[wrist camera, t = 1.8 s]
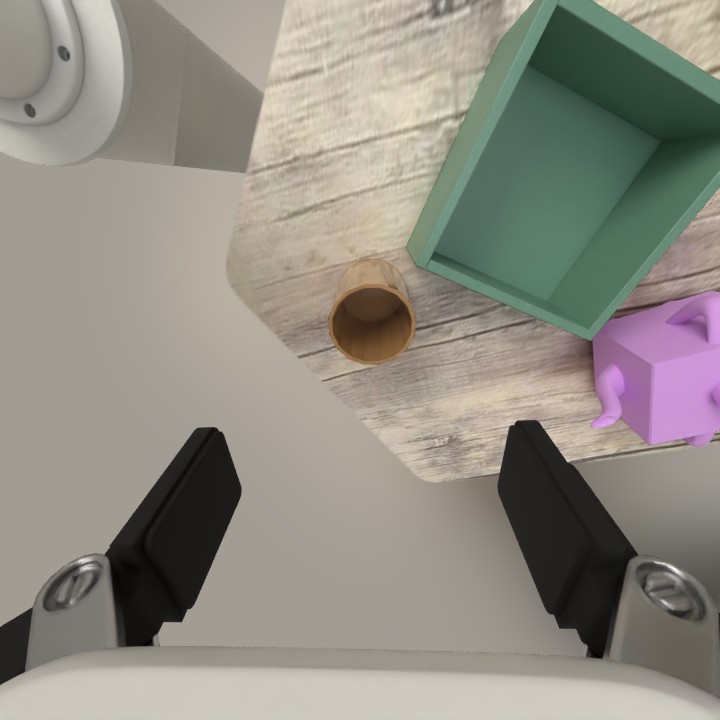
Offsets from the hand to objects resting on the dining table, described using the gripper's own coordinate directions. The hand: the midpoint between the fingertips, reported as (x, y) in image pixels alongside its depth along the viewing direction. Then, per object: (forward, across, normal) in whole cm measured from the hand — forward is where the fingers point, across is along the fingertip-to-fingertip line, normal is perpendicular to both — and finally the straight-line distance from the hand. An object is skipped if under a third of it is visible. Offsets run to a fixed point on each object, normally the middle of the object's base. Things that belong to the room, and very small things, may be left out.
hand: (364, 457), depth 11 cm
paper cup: (+24, 0, +2) cm, 24 cm away
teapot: (+24, -28, +8) cm, 38 cm away
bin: (+24, -14, -6) cm, 28 cm away
